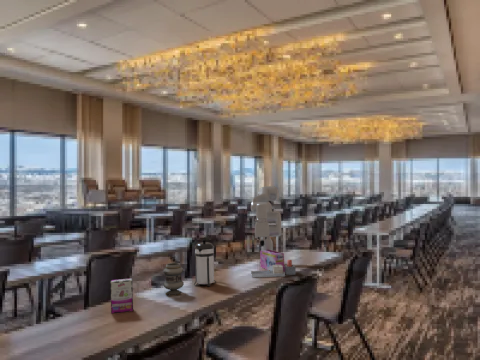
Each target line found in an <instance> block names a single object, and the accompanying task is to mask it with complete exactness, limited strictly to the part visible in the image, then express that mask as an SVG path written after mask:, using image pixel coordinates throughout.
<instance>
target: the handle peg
mask: <svg viewBox="0 0 480 360" xmlns="http://www.w3.org/2000/svg"><path fill="white" fill-rule="evenodd" d="M286 262H287V264H286V265H287V266H292V265H293V260H292V259H287V261H286Z"/></svg>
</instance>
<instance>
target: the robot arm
mask: <svg viewBox="0 0 480 360" xmlns="http://www.w3.org/2000/svg"><path fill="white" fill-rule="evenodd" d="M279 198H280V193H279V189H278V187H277V186H274V185H270V186H267V185H266V186H265V185H263V186H262V187H261V188H260V189H259V191H258V192H257V195H256V196H255V197H253V198H252V200H251V203H250V210H251V212H252V213H255V214H256V215H255V216H256V217H255V218H254V222H255V225H254V239H257V240H259V245H260V247H261V248H260V249H261V251H266V250H267V249H269V250H272V251H274V242H273V239H272V238H271V237H281V235H282V215H281V213H280V212H279V211H273V206H272V203H270V202H277V201H279Z"/></svg>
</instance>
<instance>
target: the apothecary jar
mask: <svg viewBox="0 0 480 360" xmlns="http://www.w3.org/2000/svg"><path fill="white" fill-rule="evenodd" d="M162 271H163V273H164V275H165V277H164V278H165V281H164V282H163V287H164V288H165V289H166V290H167V291H166V292H165V296H170V297H171V296H172V297H175V296H180V295H182V294H183V292H182V291H181V290H179V289H181V288H183V286H184V284H185V283H184V281H183V280H182V273H183V271H184V268H183V267H182V266H181V263H180V262H169V263H166V264H165V267H164V268H163V270H162Z"/></svg>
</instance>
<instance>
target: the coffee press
mask: <svg viewBox="0 0 480 360" xmlns="http://www.w3.org/2000/svg"><path fill="white" fill-rule="evenodd" d="M201 241H202V242H197V243H196V244H195V246H194V249H195V251H194V258H195V259H194V260H195V262H194V263H195V264H194V266H195V282H194V284H193V286H195V287H197V286H198V285H207V287H208V288H209V287H210V288H211V284H212V283H213V284H216V282H217V281H216V280H215V262H214V261H215V260H214V259H215V258H214V256H215V254H214V253H215V252H214V251H215V250H214V248H215V246H214V244H213V243H212V242H208V241H207V240H206V239H205V238H203V239H202V240H201Z"/></svg>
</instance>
